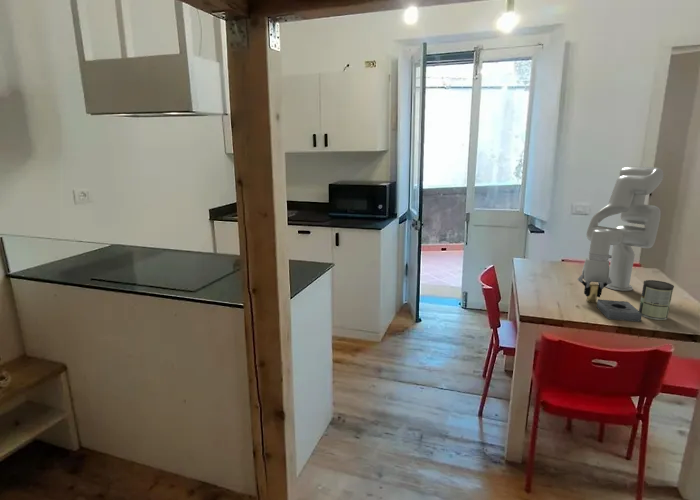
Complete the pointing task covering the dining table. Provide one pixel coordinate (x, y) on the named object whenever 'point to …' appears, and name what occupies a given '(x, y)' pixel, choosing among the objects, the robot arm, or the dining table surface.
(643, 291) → the coffee can
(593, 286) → the gold rounded cylinder
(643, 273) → the dining table surface
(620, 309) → the jig
